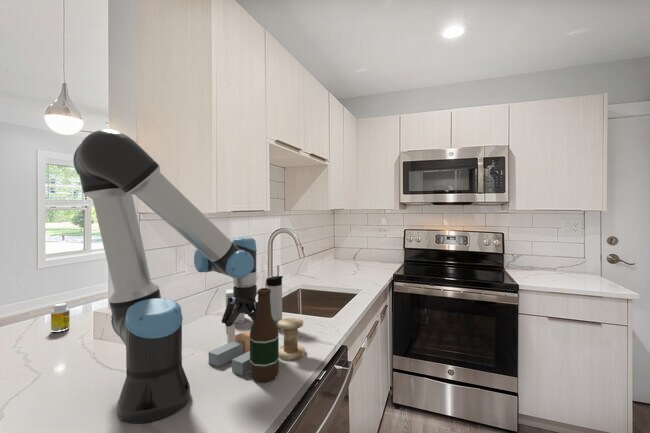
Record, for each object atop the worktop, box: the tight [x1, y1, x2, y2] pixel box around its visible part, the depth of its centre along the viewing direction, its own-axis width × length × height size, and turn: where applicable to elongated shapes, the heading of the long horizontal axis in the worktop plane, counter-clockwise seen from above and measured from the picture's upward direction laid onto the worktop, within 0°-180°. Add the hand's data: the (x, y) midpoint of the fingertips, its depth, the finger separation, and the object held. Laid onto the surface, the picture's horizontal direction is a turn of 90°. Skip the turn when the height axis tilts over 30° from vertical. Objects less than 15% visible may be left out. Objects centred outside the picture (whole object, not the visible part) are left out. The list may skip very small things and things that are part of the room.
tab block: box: [235, 330, 250, 354], centre depth 107 cm, size 4×4×5 cm
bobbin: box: [278, 317, 306, 361], centre depth 103 cm, size 9×9×10 cm
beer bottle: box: [249, 287, 280, 384], centre depth 89 cm, size 8×8×24 cm
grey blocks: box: [208, 341, 250, 376], centre depth 97 cm, size 10×14×4 cm
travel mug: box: [265, 275, 284, 329], centre depth 129 cm, size 6×7×20 cm
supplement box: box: [225, 288, 246, 324], centre depth 136 cm, size 7×7×13 cm
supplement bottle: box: [50, 302, 70, 331], centre depth 125 cm, size 6×6×10 cm
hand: (245, 349), depth 107 cm, fingers open, 13 cm apart
